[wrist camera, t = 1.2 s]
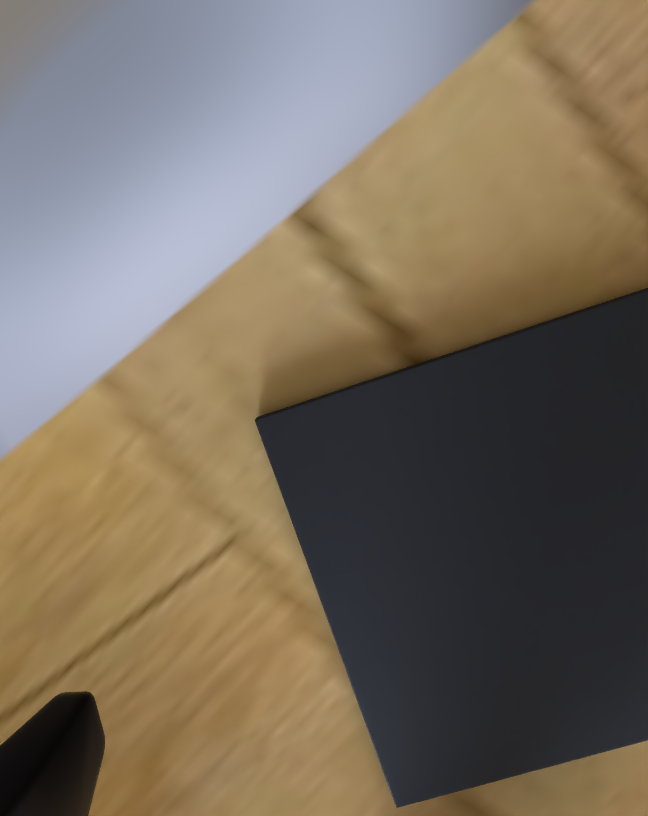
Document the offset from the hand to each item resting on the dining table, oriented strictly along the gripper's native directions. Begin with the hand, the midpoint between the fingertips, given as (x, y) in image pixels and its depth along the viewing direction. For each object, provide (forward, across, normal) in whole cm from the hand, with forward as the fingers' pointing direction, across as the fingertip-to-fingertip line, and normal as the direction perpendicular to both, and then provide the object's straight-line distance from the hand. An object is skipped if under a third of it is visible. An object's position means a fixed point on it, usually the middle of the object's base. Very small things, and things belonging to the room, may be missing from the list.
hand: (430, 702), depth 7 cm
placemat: (+14, -8, +7) cm, 17 cm away
